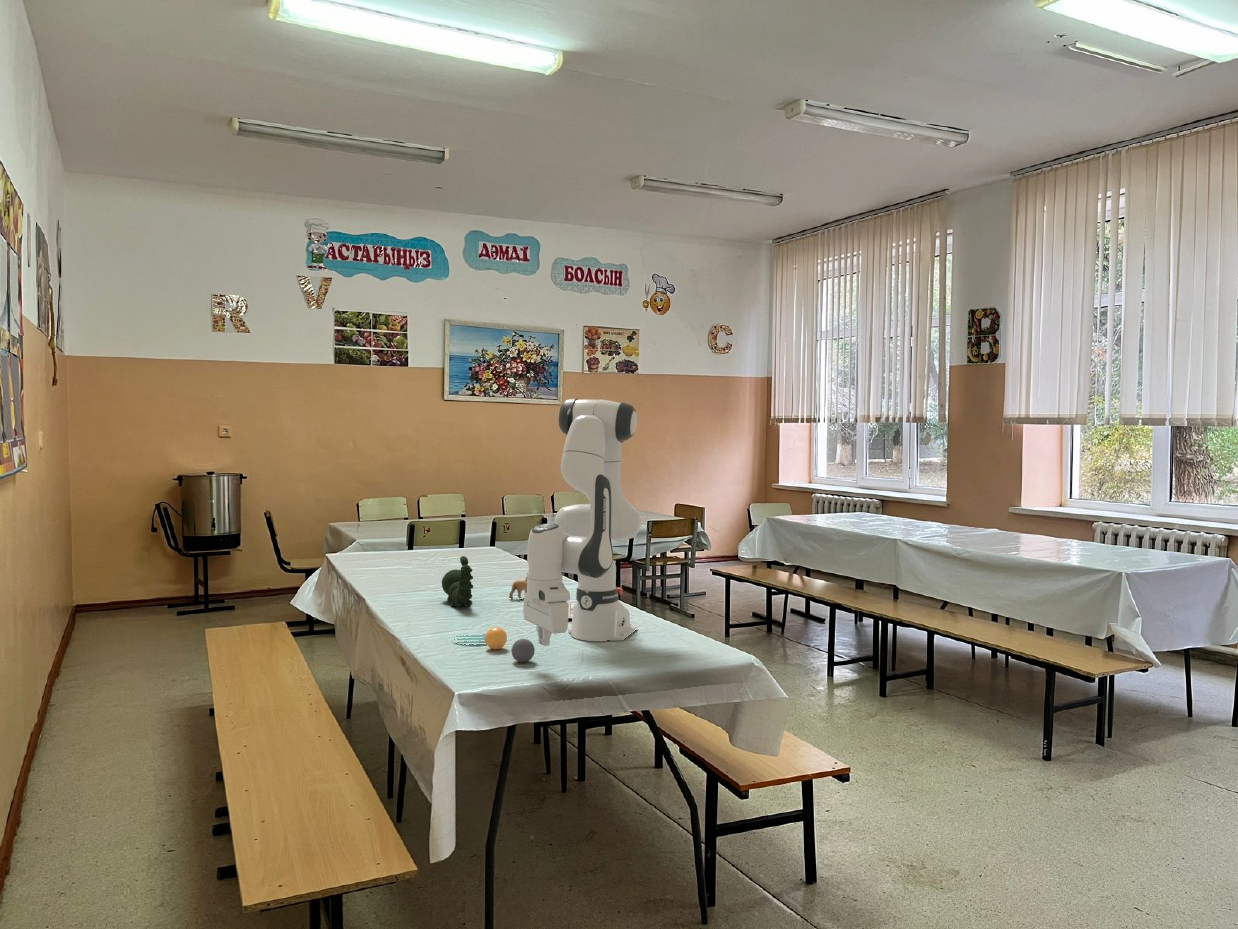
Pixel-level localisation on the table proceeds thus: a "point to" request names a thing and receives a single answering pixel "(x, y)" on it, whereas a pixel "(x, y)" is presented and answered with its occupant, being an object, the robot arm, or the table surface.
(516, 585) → the lion figurine
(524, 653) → the dark grey ball
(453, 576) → the toy figurine
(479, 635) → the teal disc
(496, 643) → the orange ball
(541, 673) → the table surface
